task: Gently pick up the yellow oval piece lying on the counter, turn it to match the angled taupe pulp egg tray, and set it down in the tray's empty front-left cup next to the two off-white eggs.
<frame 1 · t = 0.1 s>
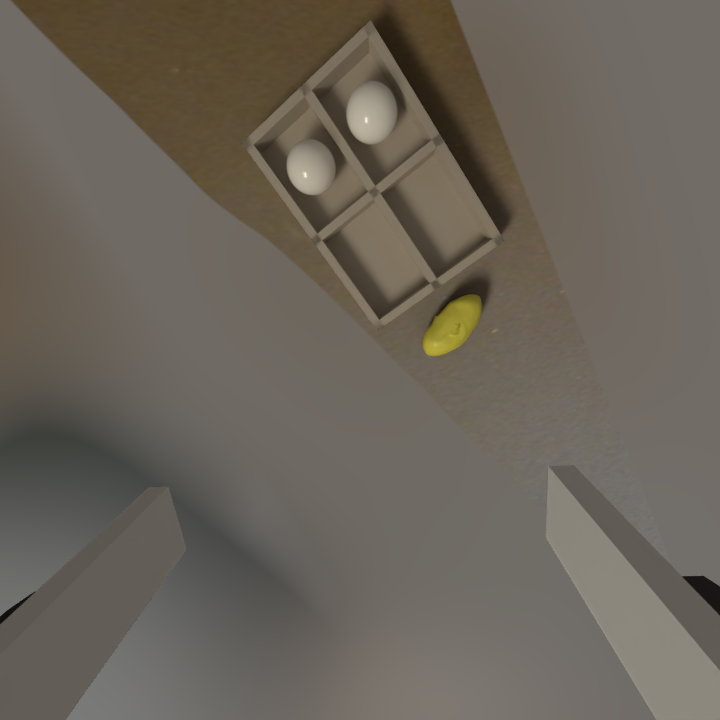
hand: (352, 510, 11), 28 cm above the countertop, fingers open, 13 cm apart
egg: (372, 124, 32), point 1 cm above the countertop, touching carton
yellow oval piece: (449, 323, 37), on the countertop
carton: (375, 198, 34), on the countertop
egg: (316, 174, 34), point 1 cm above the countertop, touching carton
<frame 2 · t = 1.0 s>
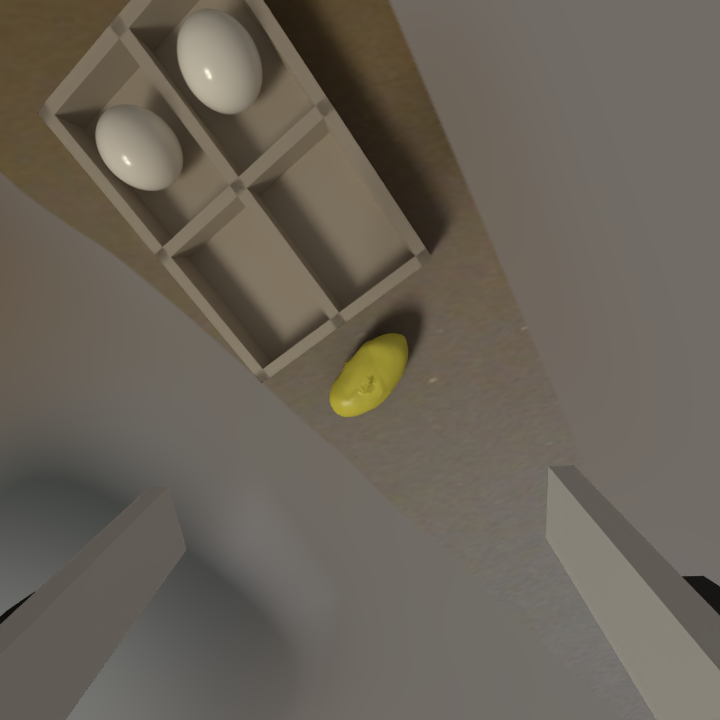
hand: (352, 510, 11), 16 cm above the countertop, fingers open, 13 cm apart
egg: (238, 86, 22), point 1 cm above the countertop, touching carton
yellow oval piece: (370, 368, 27), on the countertop
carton: (254, 195, 24), on the countertop
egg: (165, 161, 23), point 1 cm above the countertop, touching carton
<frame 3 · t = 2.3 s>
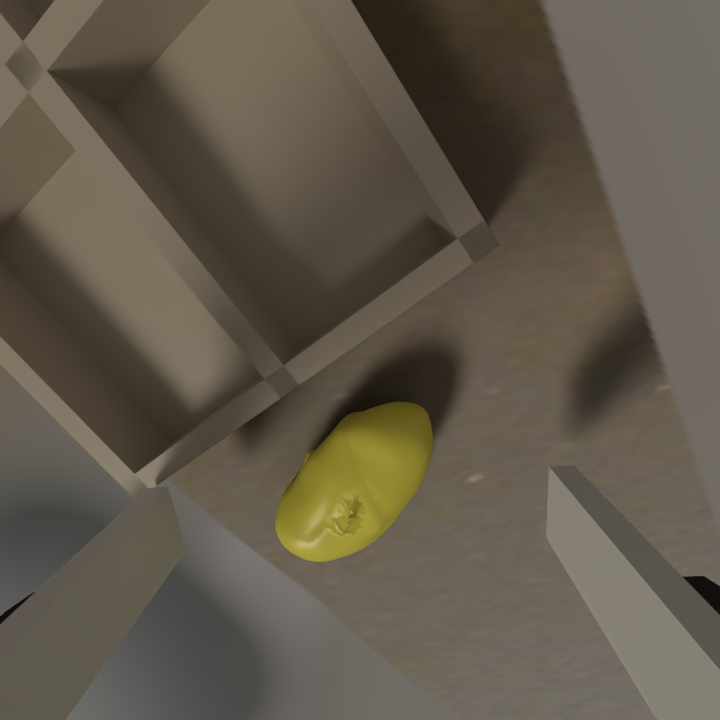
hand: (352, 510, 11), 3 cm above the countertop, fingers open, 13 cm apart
yellow oval piece: (358, 454, 15), on the countertop
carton: (110, 114, 11), on the countertop
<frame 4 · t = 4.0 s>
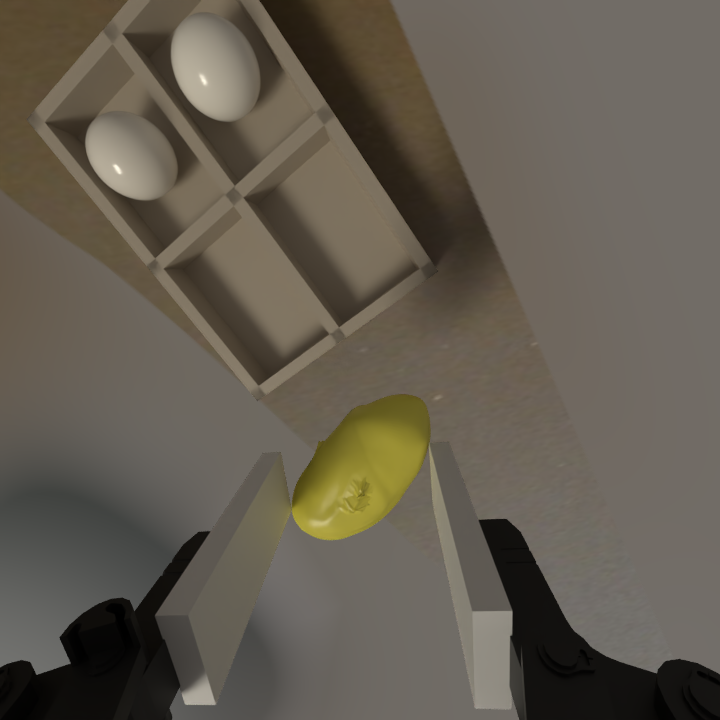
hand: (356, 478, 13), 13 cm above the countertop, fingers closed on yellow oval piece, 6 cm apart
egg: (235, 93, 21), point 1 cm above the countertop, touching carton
yellow oval piece: (363, 444, 16), point 10 cm above the countertop, touching gripper
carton: (252, 205, 23), on the countertop
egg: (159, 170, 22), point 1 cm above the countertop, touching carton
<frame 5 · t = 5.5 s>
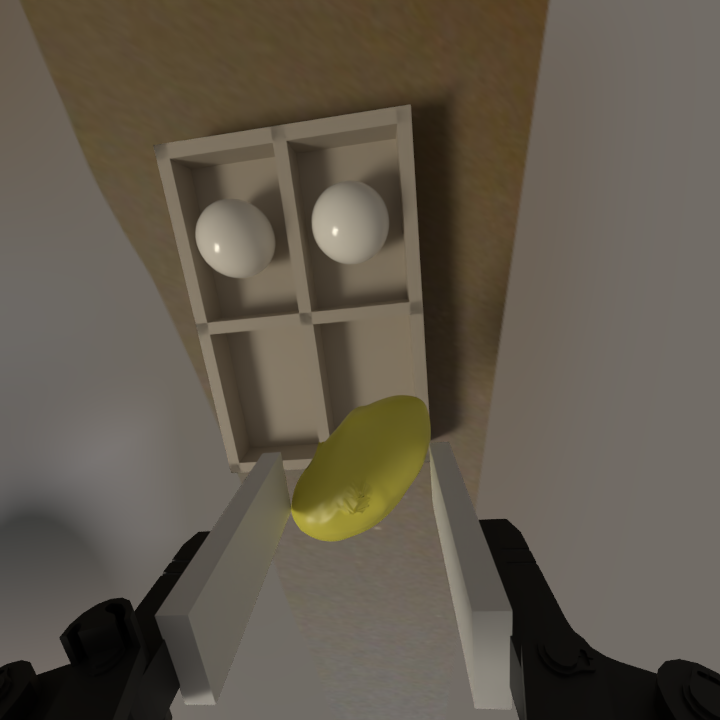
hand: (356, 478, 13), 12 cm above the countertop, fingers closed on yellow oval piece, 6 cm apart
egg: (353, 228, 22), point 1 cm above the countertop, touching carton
yellow oval piece: (364, 445, 16), point 10 cm above the countertop, touching gripper
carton: (314, 313, 24), on the countertop
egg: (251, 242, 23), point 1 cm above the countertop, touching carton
when the fingers open (4 cm above the countertop, at t = 7.3 s): yellow oval piece stays where it is, resting on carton.
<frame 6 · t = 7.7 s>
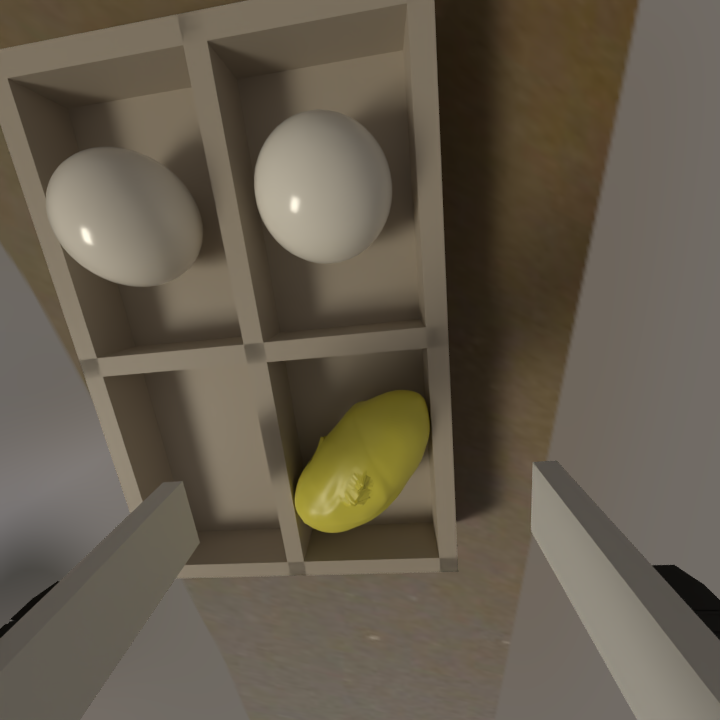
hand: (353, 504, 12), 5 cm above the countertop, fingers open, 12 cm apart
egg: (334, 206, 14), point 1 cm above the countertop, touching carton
yellow oval piece: (365, 440, 16), resting on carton
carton: (277, 339, 16), on the countertop
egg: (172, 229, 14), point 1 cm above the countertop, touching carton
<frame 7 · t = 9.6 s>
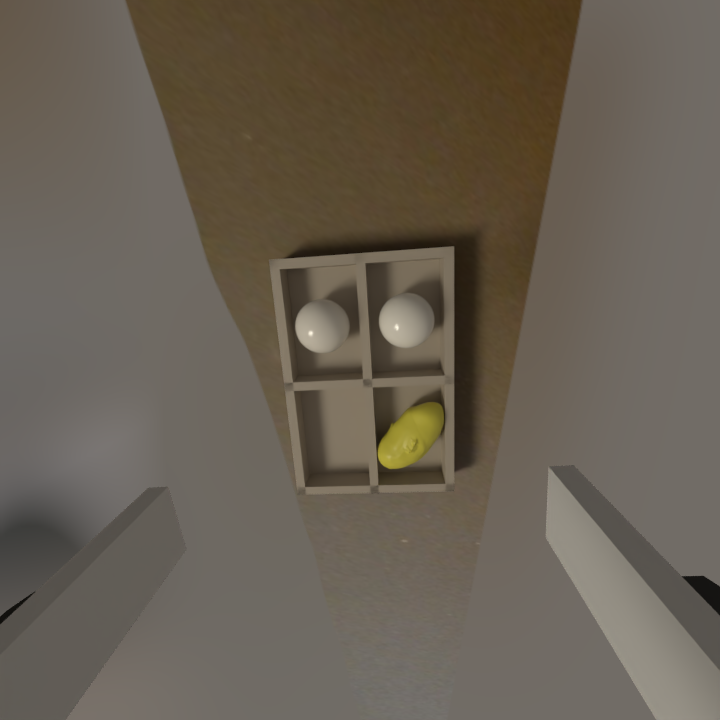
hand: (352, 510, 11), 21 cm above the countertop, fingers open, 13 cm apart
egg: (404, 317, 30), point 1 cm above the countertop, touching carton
yellow oval piece: (409, 426, 33), resting on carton
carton: (368, 374, 32), on the countertop
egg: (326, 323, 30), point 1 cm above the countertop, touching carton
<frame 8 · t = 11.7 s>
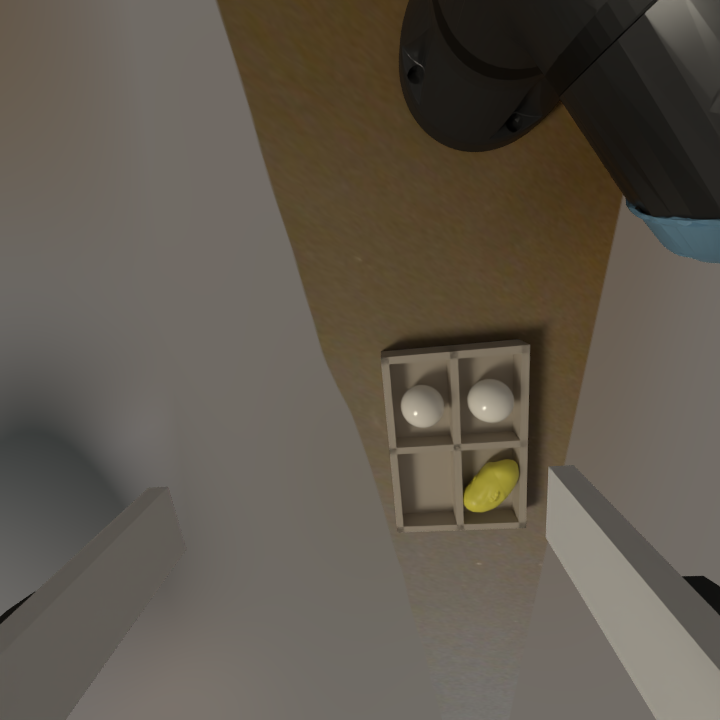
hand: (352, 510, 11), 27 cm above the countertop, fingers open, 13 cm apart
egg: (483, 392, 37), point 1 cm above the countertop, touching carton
yellow oval piece: (485, 475, 40), resting on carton
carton: (452, 435, 39), on the countertop
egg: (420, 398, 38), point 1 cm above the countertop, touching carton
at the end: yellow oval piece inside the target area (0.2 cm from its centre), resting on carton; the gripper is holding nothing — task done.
